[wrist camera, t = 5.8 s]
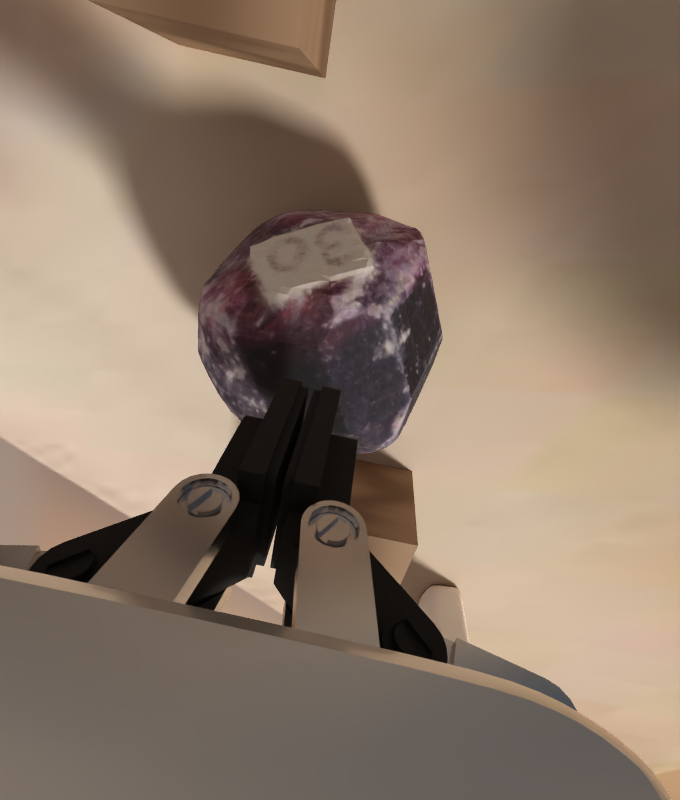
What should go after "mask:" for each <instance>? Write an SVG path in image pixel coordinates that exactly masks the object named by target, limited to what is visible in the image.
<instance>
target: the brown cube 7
mask: <svg viewBox="0 0 680 800" xmlns="http://www.w3.org/2000/svg"><path fill="white" fill-rule="evenodd" d="M89 1H91V2H93V3H95V4H97V5H99V6H101V7H103V8H105V9H107V10H109V11H111V12H113V13H115V14H118V15H120V16H122V17H124V18H126V19H128V20H130V21H132V22H134V23H136V24H138V25H140V26H142V27H144V28H146V29H148V30H150V31H152V32H154V33H156V34H158V35H160V36H162V37H164V38H166V39H168V40H170V41H172V42H174V43H176V44H178V45H182V46H186V47H191V48H195V49H199V50H204V51H208V52H213V53H217V54H221V55H226V56H230V57H235V58H239V59H243V60H248V61H252V62H257V63H261V64H265V65H270V66H274V67H279V68H283V69H287V70H292V71H296V72H301V73H305V74H309V75H314V76H318V77H323V78H325V77H326V70H327V62H328V55H329V47H330V40H331V33H332V25H333V18H334V10H335V3H336V0H89Z"/></svg>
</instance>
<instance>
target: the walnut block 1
mask: <svg viewBox="0 0 680 800" xmlns="http://www.w3.org/2000/svg"><path fill="white" fill-rule="evenodd" d="M350 506H351V507H352V508H354V509H355V510H356V511H357V512H358V513H359V514H360V515H361V516H362V518H363V519H364V521H365V525H366V528H367V536H368V545H369V551H370V552H371V553H372V554H373V555H374V556H375V557H376V559H377V560H378V561H379V562H380V563H381V564H382V565H383V566H384V568H385V569H386V570H387V571H388V572H389V573H390V574H391V575H392V577H393V578H394V579H395V580H396V581H397V582H398V583H399V584H400V585H401V583H402V580H403V578H404V576H405V574H406V571H407V569H408V567H409V565H410V562H411V560H412V558H413V556H414V553H415V551H416V549H417V546H418V542H417V530H416V517H415V504H414V492H413V479H412V471H408V470H403V469H399V468H394V467H389V466H384V465H380V464H375V463H370V462H365V461H361V460H355V469H354V477H353V485H352V493H351V501H350Z"/></svg>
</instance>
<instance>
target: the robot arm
mask: <svg viewBox="0 0 680 800" xmlns="http://www.w3.org/2000/svg"><path fill="white" fill-rule="evenodd" d="M308 390H309V388H306V387H302V381H298V380H293V379H289V378H283V379H282V381H281V383H280V385H279V387H278V389H277V391H276V393H275V395H274V398H273V400H272V402H271V404H270V406H269V408H268V410H267V412H266V414H265V416H264V418H263V419H262V418H257V417H253V416H248V415H246V416H244V418H243V419H242V421H241V423H240V425H239V426H238V428H237V430H236V432H235V433H234V435H233V437H232V439H231V441H230V442H229V444H228V446H227V448H226V449H225V451H224V453H223V455H222V457H221V458H220V460H219V462H218V464H217V465H216V467H215V469H214V471H213V473H212V474H198V475H194V476H190V477H188V478H186V479H184V480H182V481H181V482H180V483H178V484H177V485H176V486H175V487H174V488H173V489H172V490H171V491H170V492H169V494H168V495H167V496H166V497H165V498H164V499H163V500H162V501H161V502H160V503H159V505H158V506H157V507H156V508H155V509H154V510H153V511H150V512H147V513H145V514H142V515H139V516H136V517H133V518H131V519H128V520H125V521H122V522H120V523H117V524H114V525H111V526H108V527H105V528H103V529H100V530H97V531H94V532H91V533H89V534H86V535H83V536H80V537H77V538H75V539H72V540H69V541H66V542H64V543H62V544H59V545H57V546H55V547H53V548H51V549H50V550H48V551H41V550H40V547H39V546H31V545H30V546H27V545H0V800H673V799H672V797H671V796H670V794H669V793H668V791H667V790H666V788H665V787H664V786H663V784H662V783H661V782H660V781H659V779H658V778H657V776H656V775H655V774H654V773H653V771H652V770H651V769H650V768H649V767H648V766H647V765H646V764H645V763H644V762H643V761H642V760H641V759H640V758H639V757H638V756H637V754H635V753H634V752H633V751H632V750H631V749H629V748H628V747H627V746H626V745H625V744H624V743H622V742H621V741H620V740H619V739H617V738H616V737H615V736H613V735H612V734H611V733H609V732H608V731H607V730H605V729H604V728H602V727H601V726H599V725H598V724H596V723H595V722H593V721H592V720H590V719H589V718H587V717H586V716H584V715H582V714H581V713H579V712H577V710H576V708H575V707H574V705H573V703H572V701H571V700H570V698H569V697H568V696H567V695H566V694H565V693H564V692H563V691H562V690H561V689H560V688H559V687H558V686H557V685H555V684H553V683H552V682H550V681H549V680H547V679H546V678H543V677H541V676H539V675H537V674H535V673H533V672H530V671H528V670H526V669H524V668H522V667H520V666H517V665H515V664H513V663H511V662H509V661H507V660H504V659H502V658H500V657H498V656H496V655H494V654H491V653H489V652H487V651H485V650H483V649H480V648H478V647H476V646H474V645H472V644H470V643H467V642H465V641H463V640H461V639H459V638H456V640H455V641H454V642H453V641H451V640H449V639H447V638H444V637H443V636H442V634H441V632H440V631H439V630H438V628H437V627H436V625H435V624H434V623H433V622H432V620H431V619H430V618H429V617H428V616H427V615H426V614H425V613H424V611H423V610H422V609H421V608H420V607H419V606H418V605H417V604H416V602H415V601H414V600H413V599H412V598H411V597H410V596H409V595H408V593H407V592H406V591H405V590H404V589H403V588H402V587H401V586H400V584H399V583H398V582H397V581H396V580H395V579H394V578H393V577H392V575H391V574H390V573H389V572H388V571H387V570H386V569H385V568H384V566H383V565H382V564H381V563H380V562H379V561H378V560H377V559H376V557H375V556H374V555H373V554H372V553H371V552H370V551H369V545H368V536H367V528H366V525H365V521H364V519H363V518H362V516H361V515H360V514H359V513H358V512H357V511H356V510H355V509H354V508H352V507H351V506H350V501H351V493H352V485H353V477H354V469H355V460H356V452H357V444H358V440H357V439H352V438H348V437H343V436H339V435H334V434H332V429H333V425H334V420H335V416H336V411H337V406H338V402H339V397H340V393H341V390H338V389H334V388H329V387H325V386H323V387H322V390H321V391H320V390H315V389H314V391H313V394H312V397H311V400H310V403H309V406H308V409H307V412H306V415H305V418H304V413H305V408H306V402H307V396H308ZM303 419H304V421H303ZM276 526H277V528H276ZM275 529H276V534H275V540H274V547H273V553H272V559H271V566H270V568H275V569H276V572H275V578H274V585H275V586H276V588H277V589H278V591H279V592H280V594H281V596H282V597H283V599H284V600H285V603H284V608H283V619H282V626H281V625H276V624H272V623H267V622H263V621H259V620H254V619H250V618H245V617H240V616H236V615H231V614H227V613H222V612H221V610H222V608H223V606H224V604H225V603H226V601H227V599H228V597H229V595H230V592H231V589H232V585H234V584H236V583H238V582H240V581H242V580H243V579H245V578H247V577H251V578H252V576H253V573H254V570H255V567H256V564H257V565H261V566H264V564H265V561H266V558H267V555H268V552H269V549H270V545H271V542H272V539H273V536H274V533H275Z"/></svg>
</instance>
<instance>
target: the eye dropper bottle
mask: <svg viewBox="0 0 680 800" xmlns="http://www.w3.org/2000/svg"><path fill="white" fill-rule="evenodd" d="M418 606H419V607H420V608H421V609H422V610H423V611H424V613H425V614H426V615H427V616H428V617H429V618H430V619H431V620H432V622H433V623H434V624H435V625H436V627H437V628H438V630H439V631H440V632H441V634H442V636H443V637H444V638H447V639H449V640H451V641H453V642H454V641H455V640H456V638H459V639H461V640H463V641H465V642H467V643H469V637H468V631H467V625H466V619H465V613H464V607H463V601H462V597H461V594H460V591H459V590H458V589H457V588H454V587H448V586H439V585H433V586H431V587H429V588H428V589H427V590H426V591H425V592H424V594H423V595H422V597H421V599H420V601H419V605H418Z"/></svg>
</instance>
